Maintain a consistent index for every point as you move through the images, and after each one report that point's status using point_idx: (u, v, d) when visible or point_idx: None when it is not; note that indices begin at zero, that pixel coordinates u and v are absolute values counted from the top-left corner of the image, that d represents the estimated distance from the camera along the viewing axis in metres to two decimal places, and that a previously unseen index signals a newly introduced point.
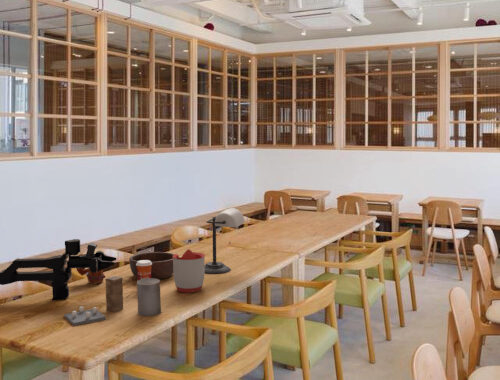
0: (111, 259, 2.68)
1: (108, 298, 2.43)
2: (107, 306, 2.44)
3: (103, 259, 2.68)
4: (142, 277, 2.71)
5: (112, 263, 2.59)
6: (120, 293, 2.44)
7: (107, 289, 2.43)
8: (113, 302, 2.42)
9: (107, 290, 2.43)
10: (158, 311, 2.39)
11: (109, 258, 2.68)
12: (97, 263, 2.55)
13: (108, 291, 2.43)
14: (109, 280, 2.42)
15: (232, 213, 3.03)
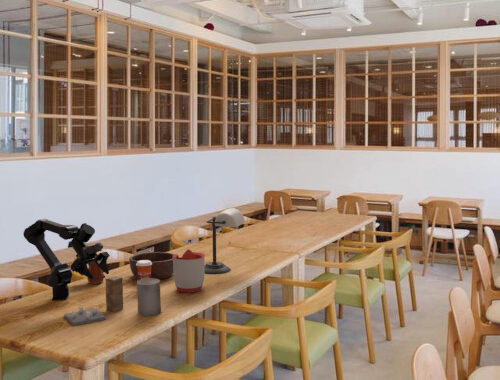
0: (105, 270, 2.53)
1: (108, 298, 2.43)
2: (107, 306, 2.44)
3: (101, 263, 2.54)
4: (142, 277, 2.71)
5: (91, 277, 2.44)
6: (120, 293, 2.44)
7: (107, 289, 2.43)
8: (113, 302, 2.42)
9: (107, 290, 2.43)
10: (158, 311, 2.39)
11: (104, 267, 2.53)
12: (79, 266, 2.43)
13: (108, 291, 2.43)
14: (109, 280, 2.42)
15: (232, 213, 3.03)
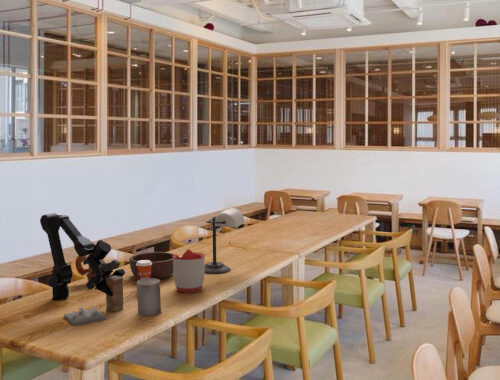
0: None
1: (108, 298, 2.43)
2: (107, 306, 2.44)
3: None
4: (142, 277, 2.71)
5: (110, 294, 2.41)
6: (120, 293, 2.44)
7: None
8: (113, 302, 2.42)
9: None
10: (158, 311, 2.39)
11: None
12: (98, 283, 2.40)
13: None
14: (110, 280, 2.42)
15: (232, 213, 3.03)
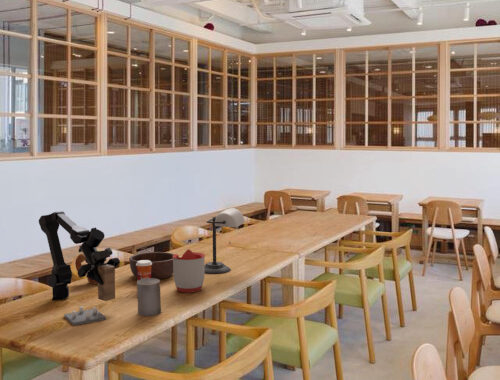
0: None
1: (100, 287, 2.39)
2: (99, 295, 2.40)
3: None
4: (142, 277, 2.71)
5: (101, 283, 2.37)
6: (112, 282, 2.39)
7: None
8: (104, 291, 2.37)
9: None
10: (158, 311, 2.39)
11: None
12: (89, 271, 2.37)
13: None
14: (101, 268, 2.38)
15: (232, 213, 3.03)
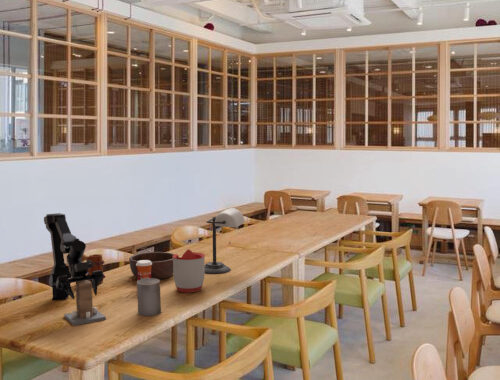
0: (94, 290, 2.36)
1: (77, 303, 2.33)
2: (77, 311, 2.34)
3: (93, 282, 2.38)
4: (142, 277, 2.71)
5: (72, 297, 2.29)
6: (88, 299, 2.32)
7: (76, 293, 2.33)
8: (79, 307, 2.31)
9: (76, 294, 2.33)
10: (158, 311, 2.39)
11: (94, 287, 2.36)
12: (61, 284, 2.30)
13: (77, 295, 2.32)
14: (77, 284, 2.31)
15: (232, 213, 3.03)
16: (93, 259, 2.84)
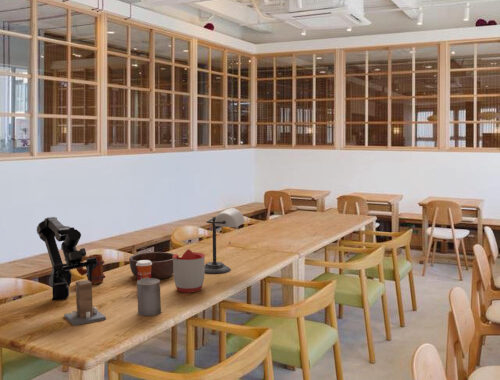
0: (89, 277, 2.44)
1: (77, 303, 2.33)
2: (77, 311, 2.34)
3: (87, 269, 2.46)
4: (142, 277, 2.71)
5: (68, 284, 2.38)
6: (88, 299, 2.32)
7: (76, 293, 2.33)
8: (79, 307, 2.31)
9: (76, 294, 2.33)
10: (158, 311, 2.39)
11: (88, 274, 2.44)
12: (57, 272, 2.39)
13: (77, 295, 2.32)
14: (77, 284, 2.31)
15: (232, 213, 3.03)
16: None
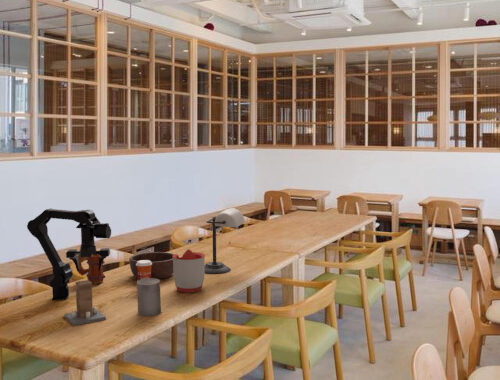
0: (99, 266, 2.59)
1: (77, 303, 2.33)
2: (77, 311, 2.34)
3: None
4: (142, 277, 2.71)
5: None
6: (88, 299, 2.32)
7: (76, 293, 2.33)
8: (79, 307, 2.31)
9: (76, 294, 2.33)
10: (158, 311, 2.39)
11: (99, 264, 2.59)
12: None
13: (77, 295, 2.32)
14: (77, 284, 2.31)
15: (232, 213, 3.03)
16: (93, 259, 2.84)
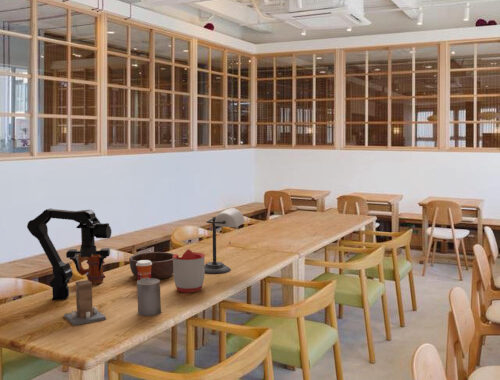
0: (99, 266, 2.60)
1: (77, 303, 2.33)
2: (77, 311, 2.34)
3: None
4: (142, 277, 2.71)
5: None
6: (88, 299, 2.32)
7: (76, 293, 2.33)
8: (79, 307, 2.31)
9: (76, 294, 2.33)
10: (158, 311, 2.39)
11: (99, 264, 2.59)
12: None
13: (77, 295, 2.32)
14: (77, 284, 2.31)
15: (232, 213, 3.03)
16: (93, 259, 2.84)
